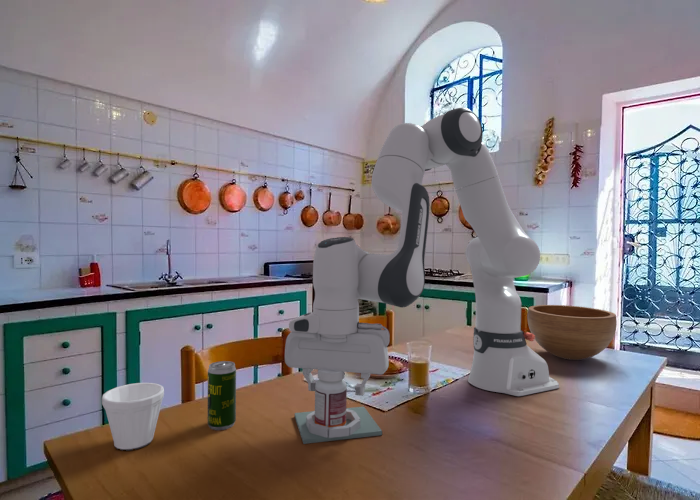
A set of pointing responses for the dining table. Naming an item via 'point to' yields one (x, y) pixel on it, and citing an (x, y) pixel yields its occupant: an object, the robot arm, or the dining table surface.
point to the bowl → (571, 330)
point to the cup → (133, 413)
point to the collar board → (355, 427)
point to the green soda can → (221, 395)
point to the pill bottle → (330, 398)
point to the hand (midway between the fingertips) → (336, 392)
